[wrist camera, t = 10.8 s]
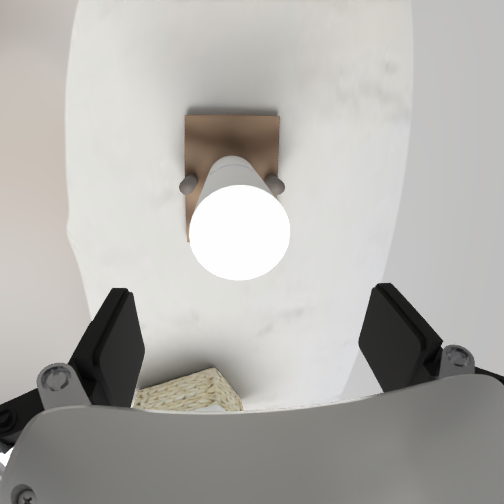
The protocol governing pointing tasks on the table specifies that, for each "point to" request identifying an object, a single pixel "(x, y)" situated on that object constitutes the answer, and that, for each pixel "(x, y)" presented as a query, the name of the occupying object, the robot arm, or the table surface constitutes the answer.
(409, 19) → the table surface
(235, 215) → the cylindrical container
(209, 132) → the board
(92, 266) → the table surface
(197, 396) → the storage basket
